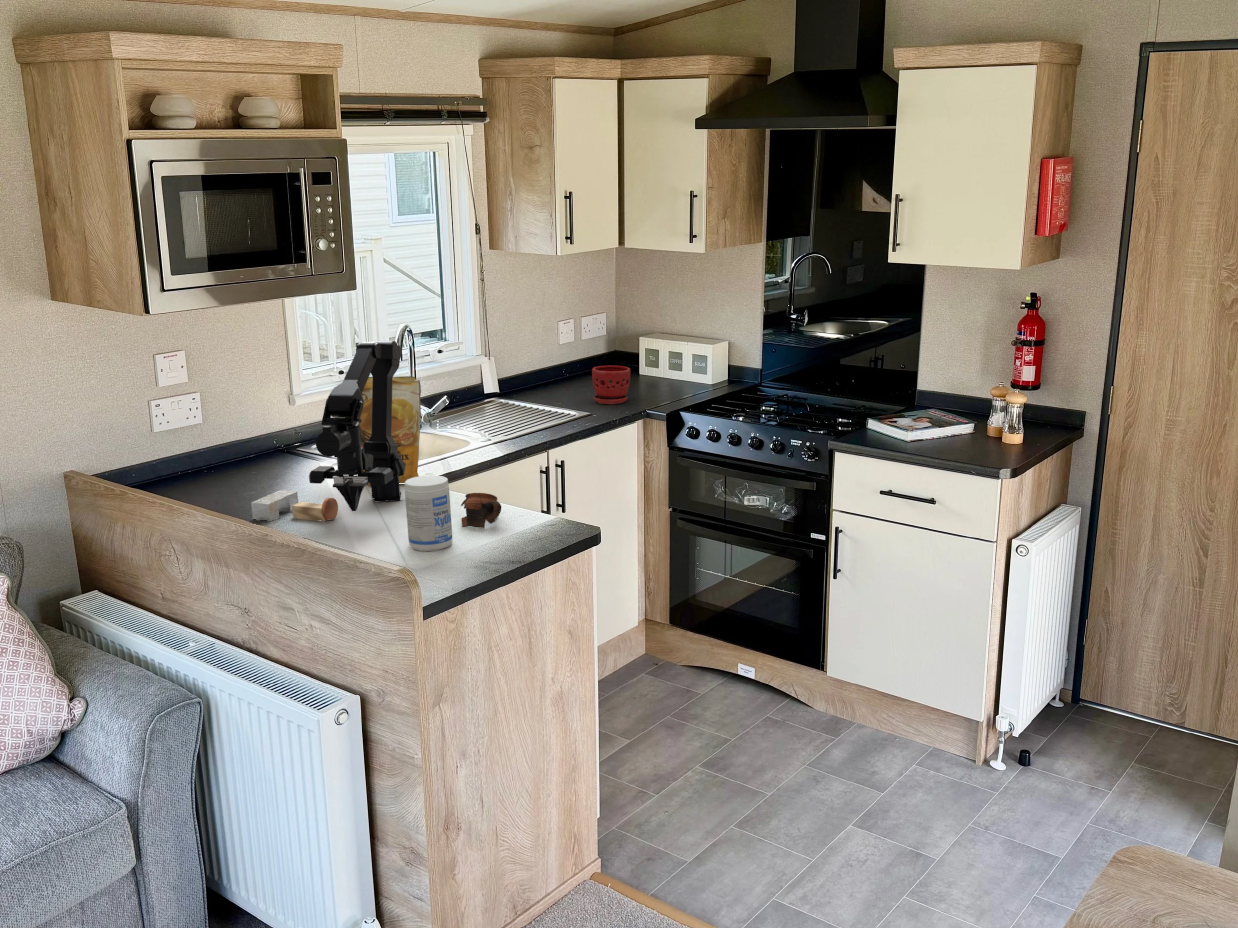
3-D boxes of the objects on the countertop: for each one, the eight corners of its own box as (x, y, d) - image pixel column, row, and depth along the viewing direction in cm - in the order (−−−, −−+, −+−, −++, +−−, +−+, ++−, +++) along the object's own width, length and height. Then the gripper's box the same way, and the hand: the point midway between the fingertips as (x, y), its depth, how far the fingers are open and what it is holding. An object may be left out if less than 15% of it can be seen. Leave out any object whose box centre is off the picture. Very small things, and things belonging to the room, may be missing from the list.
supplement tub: (445, 553, 244) (440, 486, 240) (402, 552, 245) (397, 486, 242) (458, 538, 253) (454, 474, 249) (417, 537, 255) (412, 474, 251)
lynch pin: (339, 516, 272) (337, 495, 271) (326, 523, 268) (324, 501, 266) (304, 513, 276) (302, 492, 275) (291, 519, 271) (288, 498, 270)
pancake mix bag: (358, 478, 305) (348, 375, 298) (428, 478, 304) (420, 374, 297) (351, 485, 299) (341, 380, 292) (422, 484, 297) (414, 379, 290)
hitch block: (299, 508, 280) (297, 491, 279) (270, 521, 270) (268, 504, 269) (282, 506, 282) (280, 490, 281) (253, 519, 272) (251, 502, 271)
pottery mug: (450, 527, 263) (453, 493, 265) (480, 536, 270) (483, 502, 272) (486, 523, 255) (489, 487, 257) (516, 531, 262) (519, 497, 264)
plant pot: (610, 407, 385) (609, 372, 382) (585, 402, 394) (584, 368, 391) (639, 401, 393) (638, 367, 390) (613, 396, 403) (612, 363, 400)
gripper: (399, 438, 269) (405, 502, 273) (326, 437, 273) (332, 500, 277) (380, 450, 258) (386, 516, 262) (304, 448, 262) (311, 513, 266)
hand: (354, 510), depth 267 cm, fingers closed
